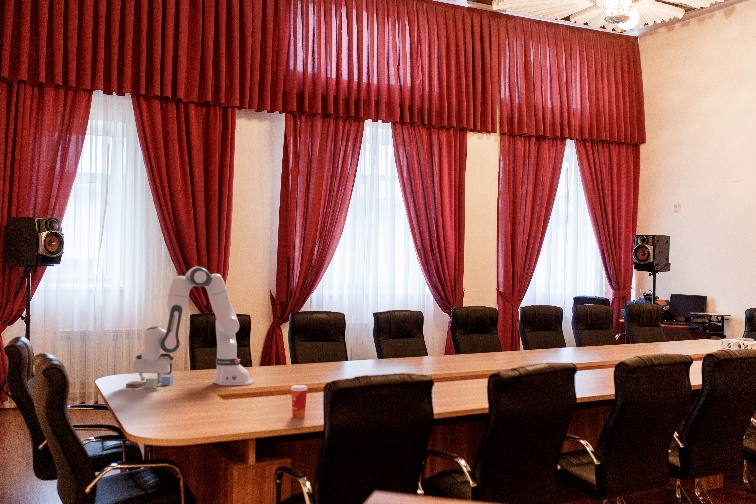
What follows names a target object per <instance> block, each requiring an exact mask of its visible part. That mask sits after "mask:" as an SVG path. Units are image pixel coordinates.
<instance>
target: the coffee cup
mask: <svg viewBox="0 0 756 504" xmlns="http://www.w3.org/2000/svg"><path fill="white" fill-rule="evenodd" d="M160 356H163V357H168V358H170V372H169V373H167V374H165V373H164V374H163V376H164V375H172V370H173V360H174V356H172V353H160ZM168 358H167V359H168ZM156 374H157V377H158V378H159V377H160V376H161V375H160V373H156Z"/></svg>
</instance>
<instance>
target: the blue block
mask: <svg viewBox="0 0 756 504" xmlns="http://www.w3.org/2000/svg"><path fill="white" fill-rule="evenodd" d="M173 384H174V375H172V374H171V375H164V376H162V378H161V381H160V385H161V386H162V385H168V386H169V387H170V386H172V385H173ZM168 386H167V387H168Z"/></svg>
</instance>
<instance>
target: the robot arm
mask: <svg viewBox="0 0 756 504" xmlns="http://www.w3.org/2000/svg"><path fill="white" fill-rule="evenodd" d="M193 287H204V288H205V289H206V292H207V297H208V299H209V302H210V306H211V309H212V311H213V314H214V315H215V319H216V320H215V334H216V344H217V345H216V358H215V368H216V372H215V377H214V381H213V384H217V385H220V386H246V385H247V386H248V385H251V384H253V383H254V382H255V381H254V379H253V378H251V377H250V372H249V370H248V369H247V368H246V367H244V366H243V365H242V364H241V358H238V357H237V352H238V349H237V347H238V343H237V337H236V333H238V331H239V329H240V322H239V320H238V319H239V318H238V316H237V314H236V311H235V309H234V307H233V304H232V301H231V298H230V294H229V291H228V287H227V285H226V282H225V281H224V277H222V275H221V274H219V273H212V274H211V273H210V271H208V270H207V269H206V268H204V267H201V266H192V267H190V268H189V269H188V270H187V272H186V273H184V275H177V276H175V277H174V278H173V279H172V281H171V284H170V286H169V290H168V294H167V300H166V301H167V302H166V303H167V305H166V306H167V309H168V310H167V311H168V321H167V322H168V323H167V328H166V330H165V329H163V328H161V327H160V326H151V327H148V328H146V329H145V331H144V336H143V345H144V347H143V352H141V353H140V354H139V353H138V354H137V355H135V356H134V359H135V360H133V363H132V372H133V373H138V376H139V377H140V381H142V382H145V381H146V377H145V376H144V374H145V373H147V374H157V373H160V375H161V376H160V377H159V378H158V382H161V378H162V376H163V374H164V373H165V374H167V373H169V372H170V358H168V357H163V356H160V354H161V350H162V351H163V352H164V353H165V354H172V353H175V352H176V351H178V349H179V348H180V343H181V342H180V339H179V331H180V326H181V320H182V317H183V313H184V311H185V309H186V306H187V304H188V300H189V296H190V292H191V289H192V288H193ZM167 358H168V359H167Z"/></svg>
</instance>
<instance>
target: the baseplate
mask: <svg viewBox="0 0 756 504" xmlns="http://www.w3.org/2000/svg"><path fill="white" fill-rule="evenodd" d="M143 387H146V381H141V380H140V381H138V380H137V381H136V380H135V381H134V380H132V381H130V382H126V383H125V388H128V389H129V388H131V389H132V388H133V389H134V388H135V389H141V388H143Z"/></svg>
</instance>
